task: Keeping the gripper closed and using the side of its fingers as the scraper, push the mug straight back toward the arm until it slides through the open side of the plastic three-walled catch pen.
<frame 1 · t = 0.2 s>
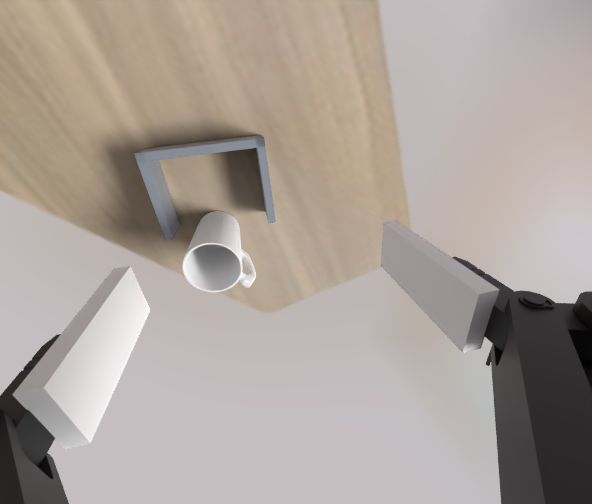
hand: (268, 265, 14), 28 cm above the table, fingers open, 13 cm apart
mug: (227, 235, 43), on the table
catch pen: (215, 182, 39), on the table
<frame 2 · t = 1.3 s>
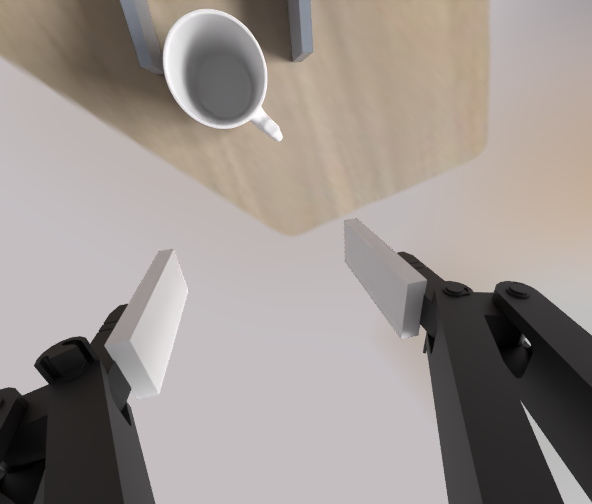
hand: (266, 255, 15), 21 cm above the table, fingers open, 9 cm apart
mug: (237, 100, 29), on the table
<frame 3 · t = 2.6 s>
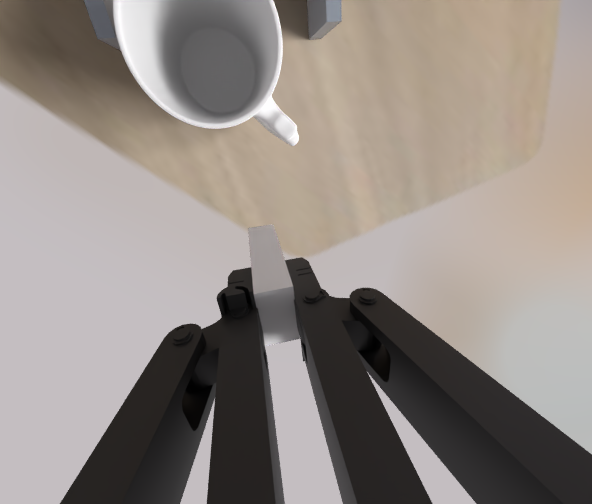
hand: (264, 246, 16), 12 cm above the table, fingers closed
mug: (236, 90, 23), on the table
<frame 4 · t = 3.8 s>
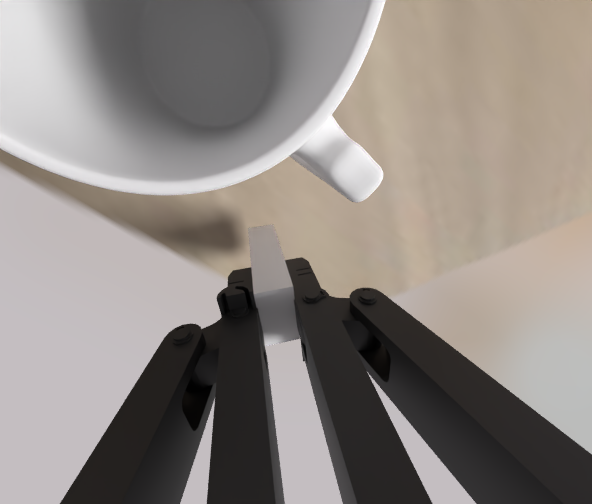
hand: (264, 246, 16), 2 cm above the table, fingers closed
mug: (237, 91, 14), on the table
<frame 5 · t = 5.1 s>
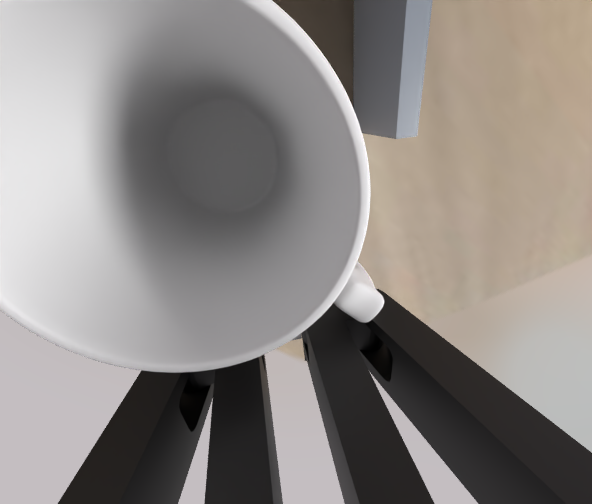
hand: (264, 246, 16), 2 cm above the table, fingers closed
mug: (250, 174, 16), on the table, touching gripper, hand
catch pen: (222, 20, 13), on the table
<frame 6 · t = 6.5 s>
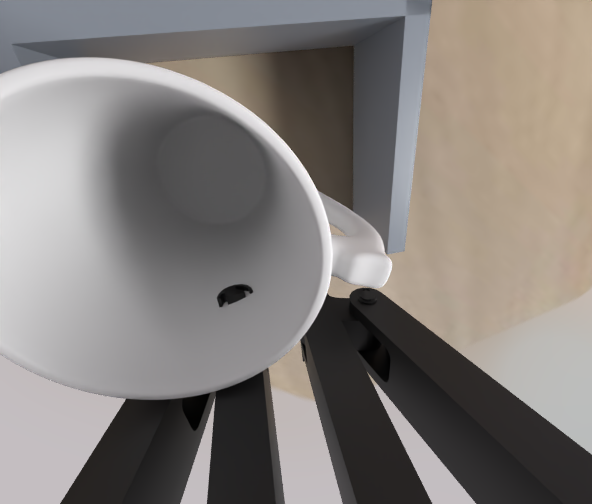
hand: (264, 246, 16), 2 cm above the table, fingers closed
mug: (244, 175, 16), on the table, touching gripper
catch pen: (246, 151, 15), on the table
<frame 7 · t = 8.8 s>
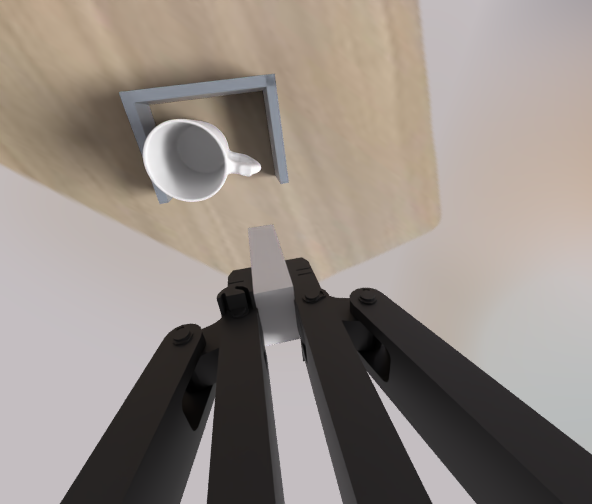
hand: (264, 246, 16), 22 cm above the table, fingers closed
mug: (216, 151, 34), on the table
catch pen: (217, 139, 33), on the table
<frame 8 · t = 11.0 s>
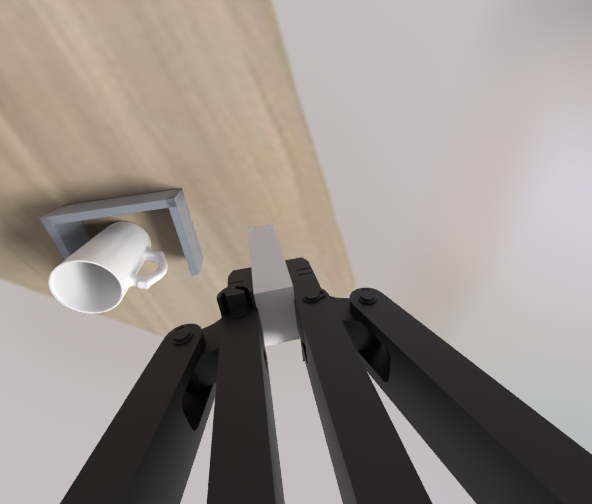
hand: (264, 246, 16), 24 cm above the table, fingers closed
mug: (141, 242, 39), on the table
catch pen: (139, 233, 39), on the table
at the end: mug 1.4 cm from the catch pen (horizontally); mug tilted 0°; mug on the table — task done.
